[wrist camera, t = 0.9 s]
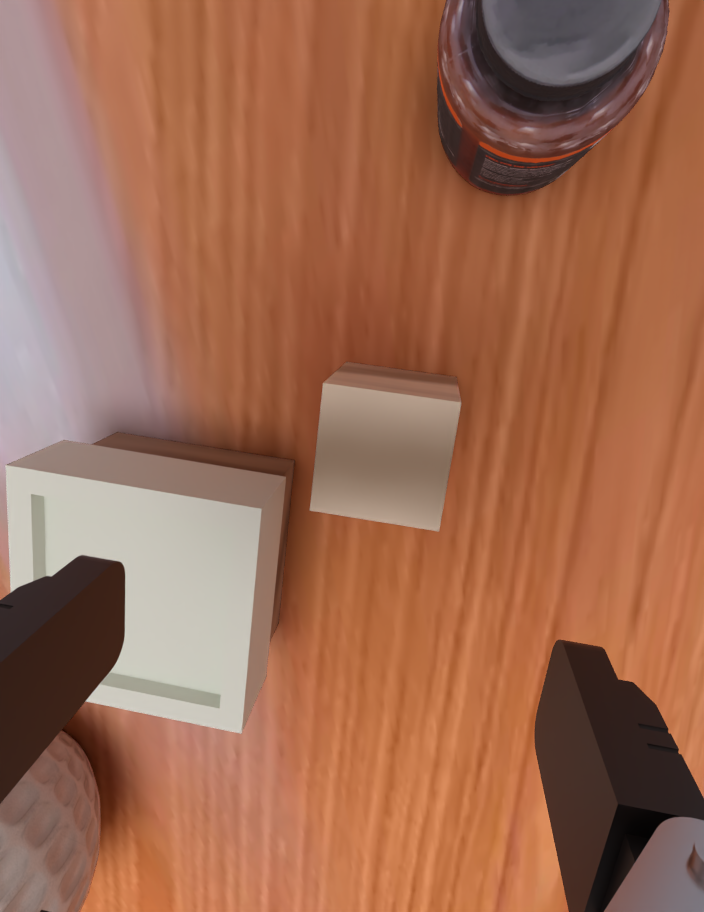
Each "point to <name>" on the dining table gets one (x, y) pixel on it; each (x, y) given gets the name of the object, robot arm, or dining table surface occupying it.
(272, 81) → the dining table surface
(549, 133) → the supplement bottle
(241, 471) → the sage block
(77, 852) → the vase
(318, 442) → the maple cube
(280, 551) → the walnut block
